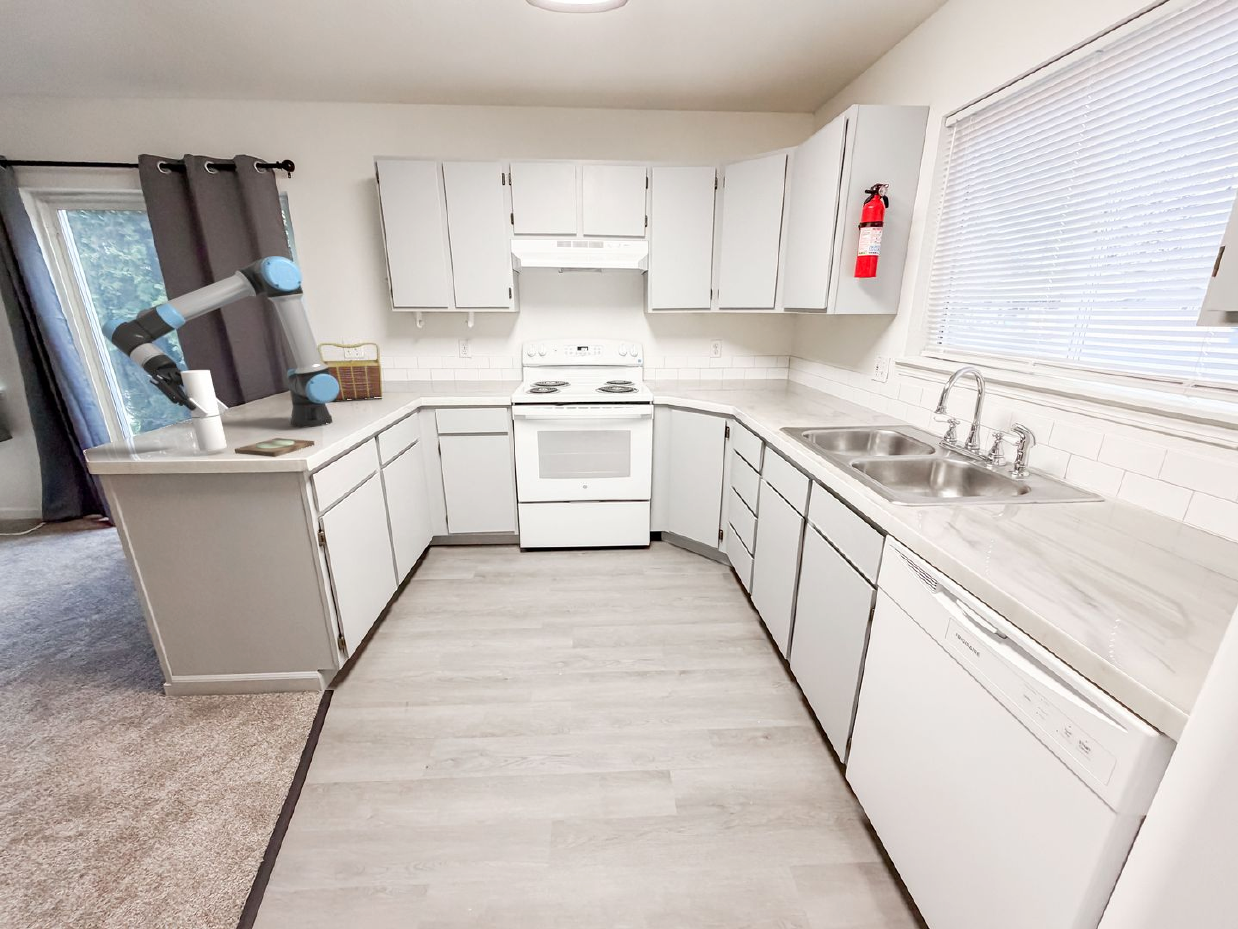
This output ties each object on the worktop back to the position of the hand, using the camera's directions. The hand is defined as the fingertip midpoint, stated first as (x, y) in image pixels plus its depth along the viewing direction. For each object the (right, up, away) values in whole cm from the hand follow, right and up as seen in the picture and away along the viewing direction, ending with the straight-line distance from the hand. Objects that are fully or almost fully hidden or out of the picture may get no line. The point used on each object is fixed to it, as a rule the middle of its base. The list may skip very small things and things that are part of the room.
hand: (215, 413), depth 161 cm
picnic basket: (-14, +19, +113) cm, 116 cm away
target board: (+12, -11, +10) cm, 20 cm away
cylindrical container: (-4, -11, +4) cm, 12 cm away
